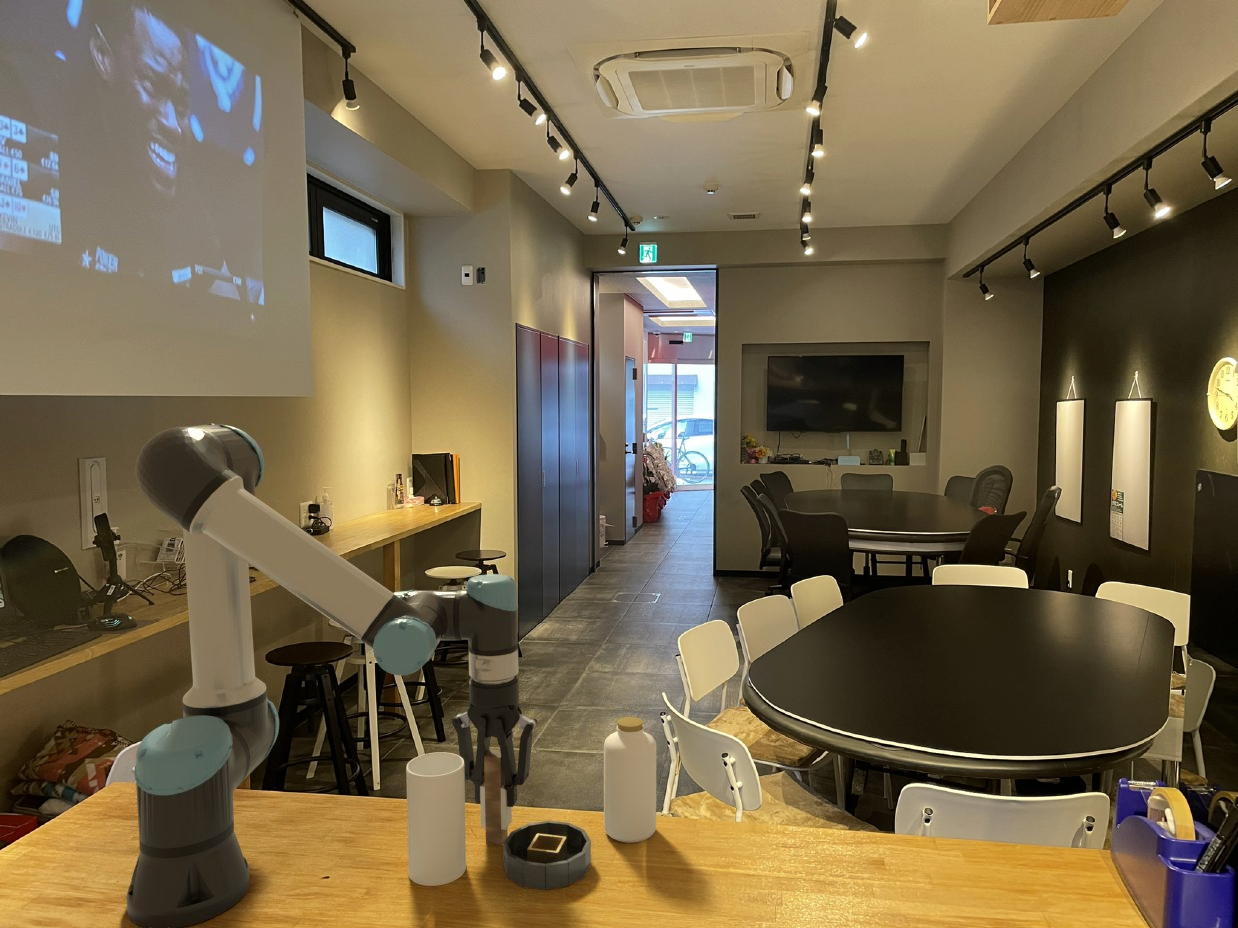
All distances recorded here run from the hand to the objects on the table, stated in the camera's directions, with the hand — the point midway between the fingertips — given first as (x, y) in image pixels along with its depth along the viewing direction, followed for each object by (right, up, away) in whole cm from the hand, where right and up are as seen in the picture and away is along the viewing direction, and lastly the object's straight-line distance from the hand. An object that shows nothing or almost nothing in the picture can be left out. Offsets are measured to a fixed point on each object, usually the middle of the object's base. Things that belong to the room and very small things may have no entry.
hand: (496, 823), depth 132 cm
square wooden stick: (0, -3, 0) cm, 3 cm away
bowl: (+8, -3, -7) cm, 11 cm away
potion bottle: (+21, -3, +3) cm, 21 cm away
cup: (-7, -4, -8) cm, 12 cm away
